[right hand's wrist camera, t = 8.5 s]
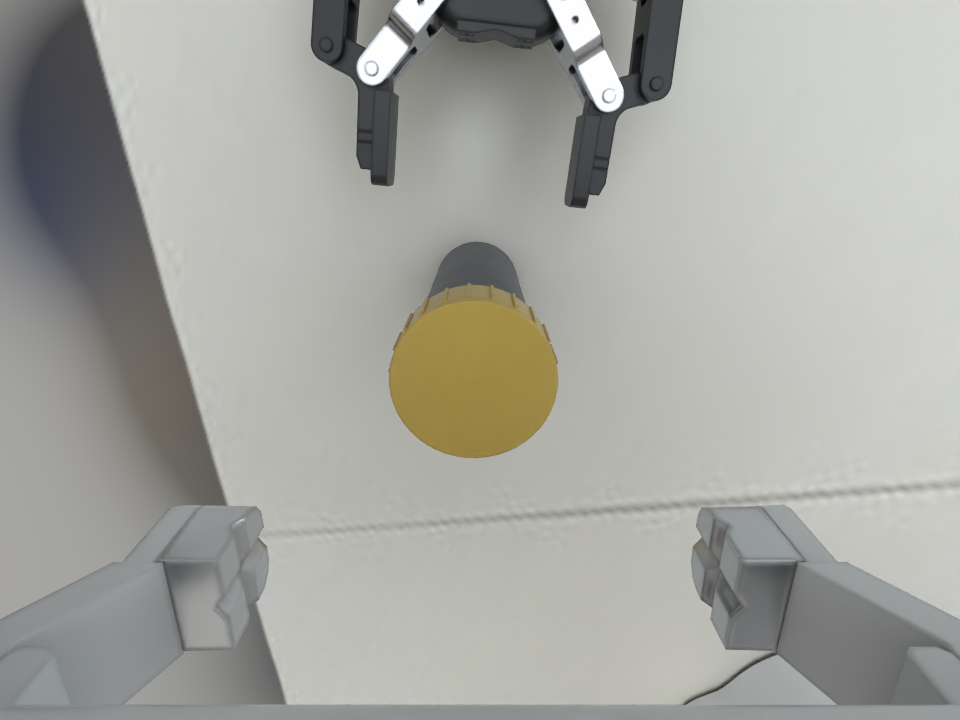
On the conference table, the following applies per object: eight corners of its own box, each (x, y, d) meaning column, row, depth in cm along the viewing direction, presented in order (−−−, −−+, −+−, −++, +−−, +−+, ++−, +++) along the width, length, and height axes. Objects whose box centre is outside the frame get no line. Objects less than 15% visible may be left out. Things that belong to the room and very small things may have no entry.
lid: (569, 301, 20) (581, 320, 18) (529, 441, 22) (534, 475, 19) (413, 266, 19) (404, 280, 17) (385, 411, 21) (373, 442, 19)
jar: (525, 252, 33) (561, 327, 18) (506, 328, 34) (524, 454, 20) (446, 233, 32) (417, 294, 18) (430, 311, 34) (391, 426, 19)
